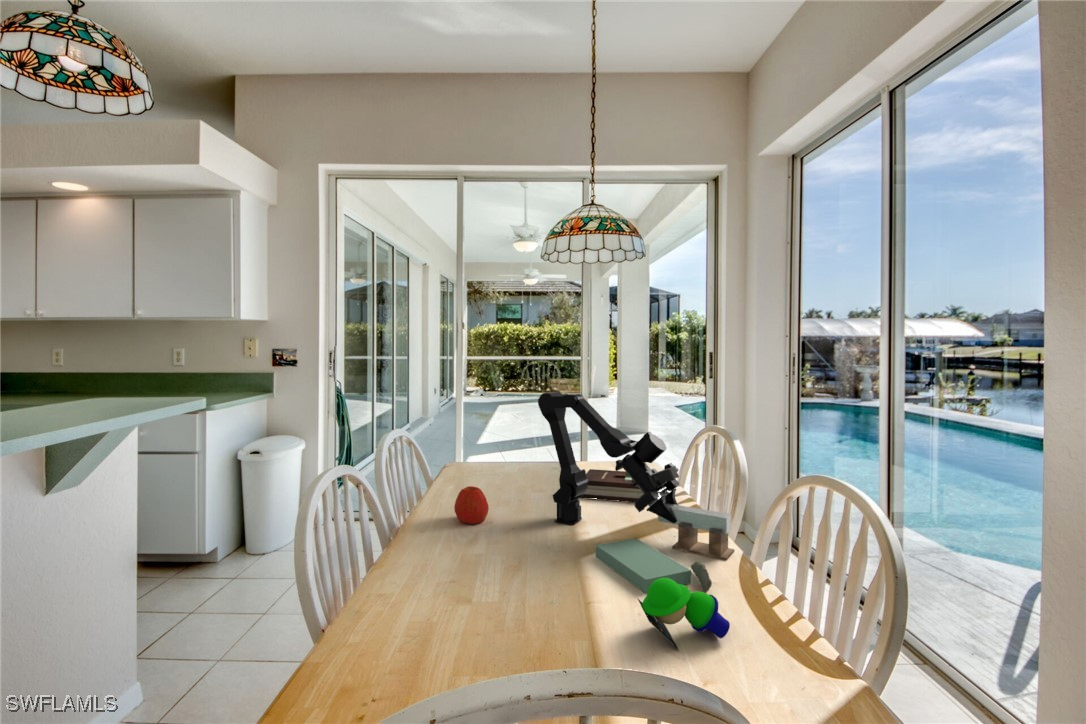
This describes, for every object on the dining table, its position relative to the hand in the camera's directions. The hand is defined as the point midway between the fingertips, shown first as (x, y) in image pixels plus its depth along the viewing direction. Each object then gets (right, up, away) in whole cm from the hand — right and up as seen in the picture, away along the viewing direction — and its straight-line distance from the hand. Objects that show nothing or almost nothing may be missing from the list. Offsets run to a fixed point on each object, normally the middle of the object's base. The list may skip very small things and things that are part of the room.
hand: (678, 520), depth 146 cm
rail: (+3, -1, -2) cm, 4 cm away
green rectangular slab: (-13, -7, -16) cm, 21 cm away
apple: (-57, -6, +19) cm, 61 cm away
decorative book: (-9, -5, +48) cm, 49 cm away
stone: (-1, -8, -23) cm, 24 cm away
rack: (+5, -7, -3) cm, 9 cm away
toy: (-10, -9, -45) cm, 47 cm away
